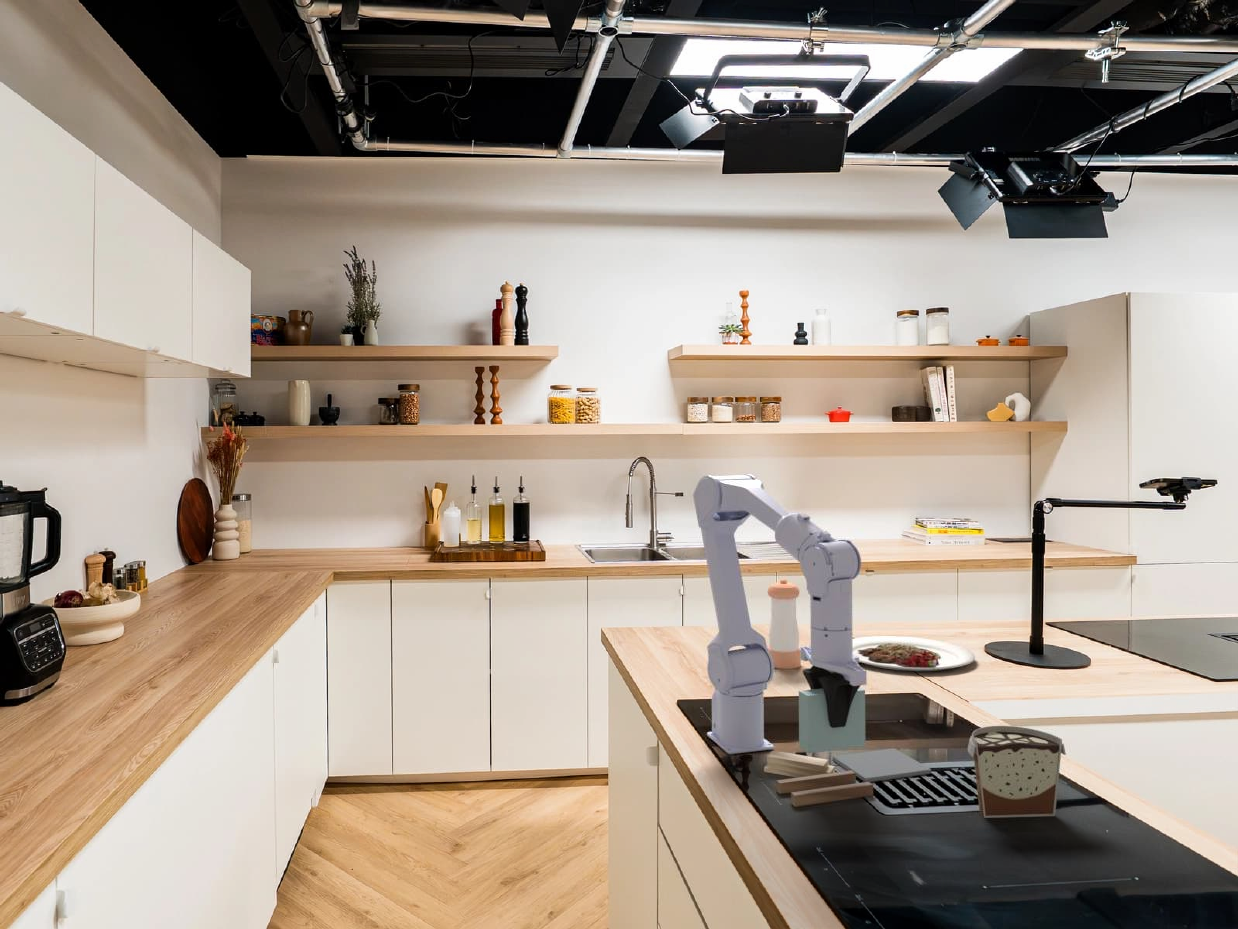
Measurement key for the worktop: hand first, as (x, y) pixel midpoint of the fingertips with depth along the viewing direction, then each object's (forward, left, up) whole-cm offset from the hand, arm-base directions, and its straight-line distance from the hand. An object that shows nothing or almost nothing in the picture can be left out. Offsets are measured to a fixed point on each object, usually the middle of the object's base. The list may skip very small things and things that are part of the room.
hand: (832, 723), depth 114 cm
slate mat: (-5, +11, -9) cm, 16 cm away
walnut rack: (+1, -2, -9) cm, 10 cm away
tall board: (0, 0, -3) cm, 3 cm away
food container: (+12, +19, -10) cm, 25 cm away
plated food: (-60, +54, -10) cm, 82 cm away
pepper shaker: (-63, +25, -10) cm, 69 cm away
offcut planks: (-6, -2, -10) cm, 12 cm away
